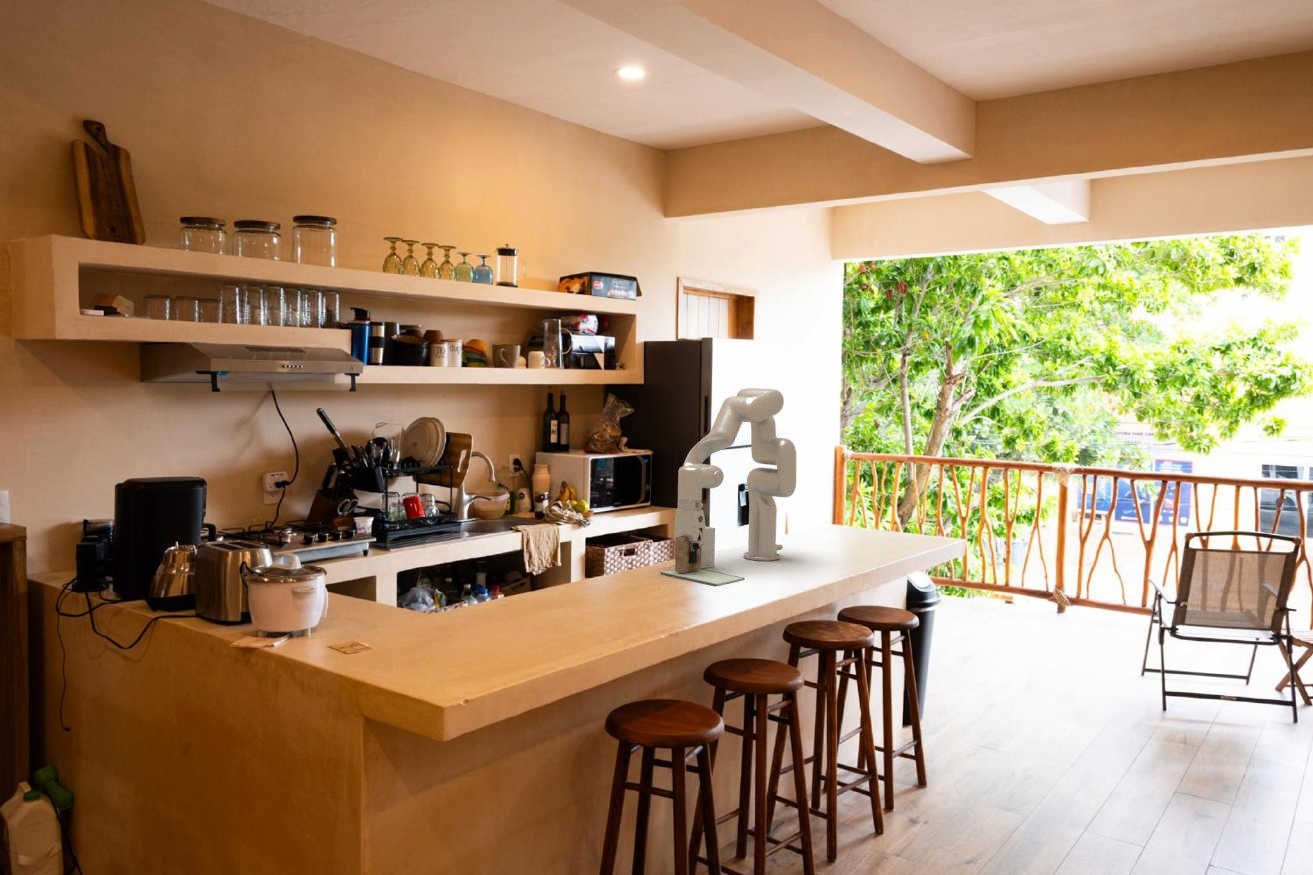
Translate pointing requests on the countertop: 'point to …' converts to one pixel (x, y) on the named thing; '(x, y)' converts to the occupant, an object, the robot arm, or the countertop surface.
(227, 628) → the countertop surface
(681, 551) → the slab
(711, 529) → the small box
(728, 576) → the mat
